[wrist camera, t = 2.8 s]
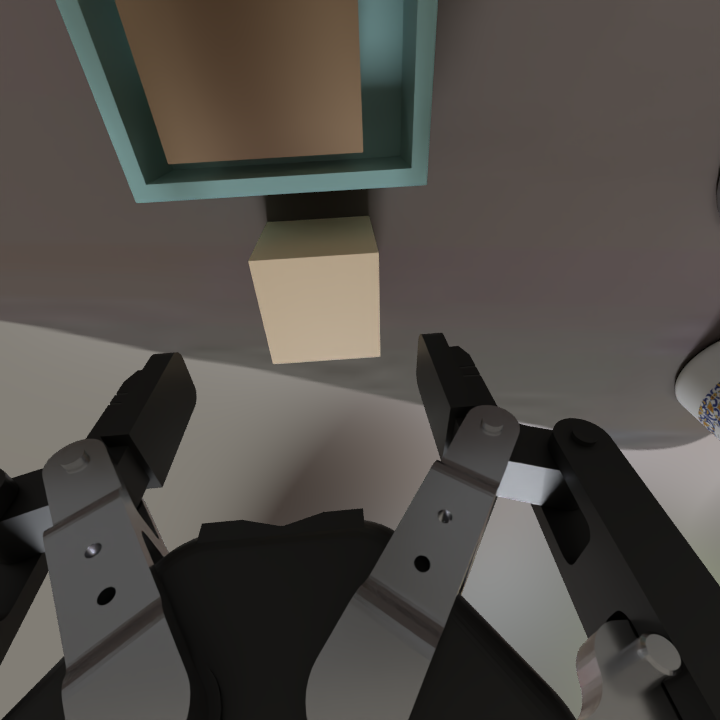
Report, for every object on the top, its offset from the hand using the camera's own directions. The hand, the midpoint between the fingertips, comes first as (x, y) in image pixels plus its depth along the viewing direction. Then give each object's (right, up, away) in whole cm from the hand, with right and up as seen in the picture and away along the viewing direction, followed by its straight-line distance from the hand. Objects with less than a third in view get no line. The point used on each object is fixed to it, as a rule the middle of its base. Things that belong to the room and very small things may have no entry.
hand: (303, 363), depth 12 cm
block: (-1, +12, +1) cm, 12 cm away
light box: (0, +5, +7) cm, 9 cm away
